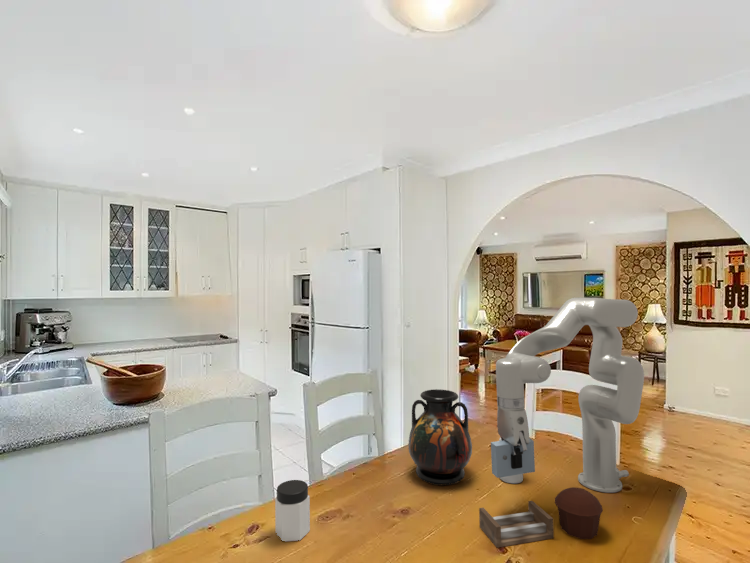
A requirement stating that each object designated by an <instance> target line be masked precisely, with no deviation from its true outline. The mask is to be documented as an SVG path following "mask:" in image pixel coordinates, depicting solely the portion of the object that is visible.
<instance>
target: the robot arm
mask: <svg viewBox="0 0 750 563" xmlns="http://www.w3.org/2000/svg"><path fill="white" fill-rule="evenodd" d="M638 316H639V313H638V308H637V305H635V303H634V302H632V301H631V300H629V299H616V298H615V299H614V298H603V297H602V298H600V297H572V298H569V299H567V300H566V301H565V302H564V303H563V304H562V306H560V308H559V309H558V310H557V311H556V313H555V314H554V315H553V316H552V317H551V319H550V320H549V321H548V322H547V323H546V325H545V326H543V327H541V328H539V329H537V330H535V331H532V332H531V333H529V334H528V335H526V336H524V337H522V338H521V339H519V340H518V341H517V342H516V343H515V344H514V346H513V347H512V348H511V349H510V350H509V351H508V353H507V354H506V356H505V357H504V358H503V357H502V358H500V359H498V360H497V361H496V362H495V379H496V403H497V413H496V415H497V416H496V420H497V421H496V424H497V425H496V428H497V433H498V435H499V438H500V437H501V440H502V441H503V440H506V441H508V442H509V443H511V446H512V454H511V468H512V469H517V468H522V454H523V452H524V451H527V447H526V444H529V438H530V430H529V422H528V416H527V415H528V414H527V411H526V408H525V386H524V384H541V383H544V382H546V381H547V380H548V379H549V377H550V376H551V373H552V368H551V365H550V364H549V363H548V361H547V360H545V359H544V358H541V357H538V356H536V355H538V354H540V353H543V352H547V351H553V350H557V349H560V348H561V349H562V348H564V347H567V346H568V345H570V344H571V342H572V341H573V339H574V338H575V337H576V335H577V334H579V331H581V329H582V328H583V327H584V326H589V328H590V331H591V333H592V346H591V351H590V357H589V358H590V359H589V364H588V373H589V376H590V378H592V379H593V380H595V381H598V382H601V383H604V384H608V385H609V384H610V385H613V386H616V389H613V388H611V387H607V386H602V385H599V384H597V385H596V384H587V385H585V386H583V387H582V388H581V389H580V391H579V392H578V405H579V409H580V414H581V422H582V426H581V427H582V471H583V472H579V474H578V475H577V481H578V482H579V483H580V484H581V485H582V486H584V487H585V488H588V489H590V490H593V491H597V492H599V493H609V494H612V493H618V492H620V491H622V490H623V483H622V481H621V480H620V479H622V478H625V477H627V478H628V477H629V476H630V473H629V471H628V470H627V469H624V470H620V469H619V468H617V447H616V446H617V443H616V442H617V436H616V435H617V432H616V427H615V426H614V422H615V423H620V424H623V425H630V424H633V423H634V422H635V421H636V420H637V418H638V416H639V412H640V408H641V402H642V394H643V390H644V383H645V382H644V381H645V371H644V368H643V365H642V363H641V362H640V361H639V360H638V359H636V358H633V357H630V356H625V355H622V351H623V337H622V334H621V333H620V330H619V329H618V328H628V327H630V326H632V325H634V324H635V322H636V321H637V319H638ZM517 442H519V443H517ZM515 446H519V448H515Z"/></svg>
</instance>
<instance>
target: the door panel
mask: <svg viewBox="0 0 750 563" xmlns="http://www.w3.org/2000/svg"><path fill="white" fill-rule="evenodd" d="M534 442H535V441H534V440H533V439H531V438H530V437H529V444H526V447H527V451H524V452H523V454H522V468H517V469H512V468H511V454H512V446H511V443H509V442H508V441H506V440H503V441H499V440H496V441H490V452H491V454H490V455H491V456H490V457H491V460H490V461H491V474H492V475H493V476H495V477H496V478H497V479H498V478H499V479H500V477H506V476H512V475H518V474H523V475H524V474H530V473H531V474H532V473H535V472H536V467H535V466H536V464H535V461H536V460H535V443H534ZM517 443H519V442H517ZM515 448H519V446H515Z"/></svg>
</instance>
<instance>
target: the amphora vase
mask: <svg viewBox="0 0 750 563" xmlns="http://www.w3.org/2000/svg"><path fill="white" fill-rule="evenodd" d="M419 395H420V398H421V399H422V400H421V399H416V400H415V401H414V402H413V404H412V405H411V406H412V407H411V429H410V432H409V437H408V443H407V444H408V453H409V456H410V458H411V460H412V461H413V462H414V464H415V465H416V469H415V474H416V475H417V477H418V478H420V480H422V481H424V482H426V483H428V484H431V485H436V486H450V485H451V486H452V485H455V484H457V483H459V482H461V481H462V480H463V479H464V478H465V475H466V474H465V469H464V468H465V467H466V466H467V465H468V464H469V462H470V459H471V457H472V453H473V442H472V438H471V435H470V432H469V413H468V407H467V405H466V404H465V403H463V402H461V401H459V402H455V401H457V400H458V398H459V395H458V393H456V392H455V391H452V390H449V389H437V388H436V389H427V390H424V391H422V392H421V393H420V394H419ZM424 401H425V402H424ZM453 402H455V403H454V404H453ZM418 405H421V406H422V407H423V412H422V413H421V414H420V415H419V416H418V418H417V417H416V416H417V415H416V409H417V406H418ZM458 407H461V408H462V410H463V413H464V419H463V420H464V421H462V419H461V418H460V416H459V415H458V414H457V413H456V408H458Z"/></svg>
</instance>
